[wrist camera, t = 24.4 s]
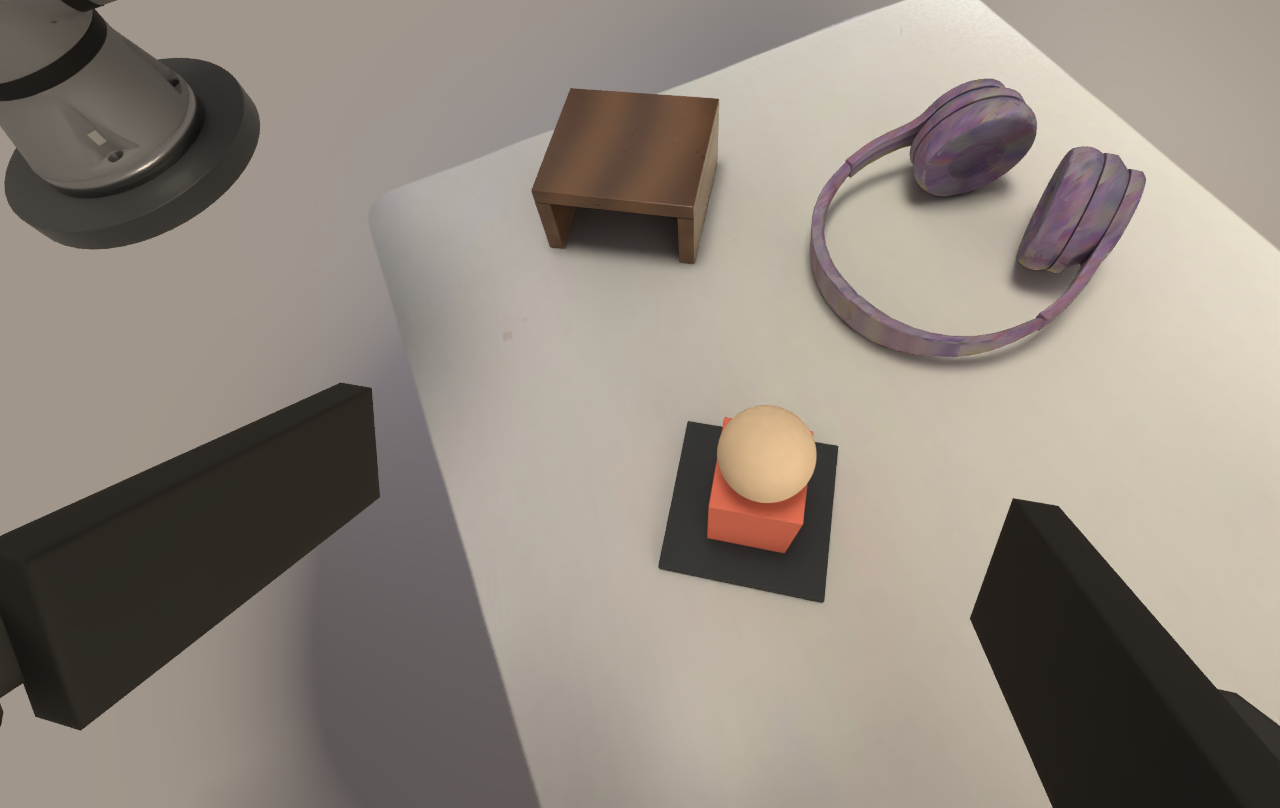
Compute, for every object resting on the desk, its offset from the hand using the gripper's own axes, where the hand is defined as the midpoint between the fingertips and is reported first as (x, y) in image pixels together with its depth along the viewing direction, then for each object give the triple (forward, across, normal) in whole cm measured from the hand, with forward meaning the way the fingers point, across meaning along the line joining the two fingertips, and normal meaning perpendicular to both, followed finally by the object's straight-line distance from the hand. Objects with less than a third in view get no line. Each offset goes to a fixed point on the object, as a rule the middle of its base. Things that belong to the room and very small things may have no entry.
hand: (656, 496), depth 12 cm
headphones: (+40, +14, +2) cm, 42 cm away
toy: (+24, +3, -13) cm, 27 cm away
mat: (+24, +3, -13) cm, 28 cm away
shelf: (+41, -10, +4) cm, 42 cm away
